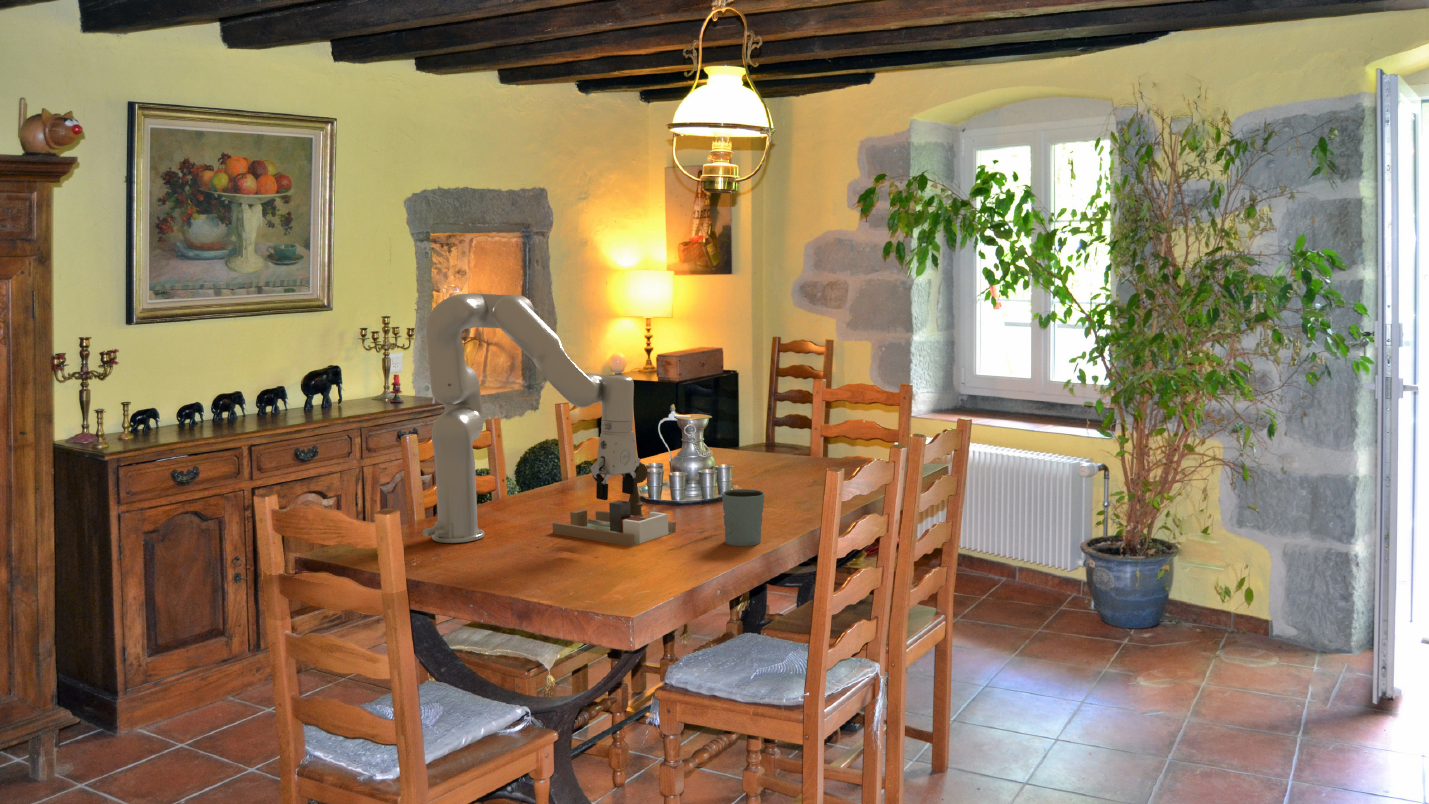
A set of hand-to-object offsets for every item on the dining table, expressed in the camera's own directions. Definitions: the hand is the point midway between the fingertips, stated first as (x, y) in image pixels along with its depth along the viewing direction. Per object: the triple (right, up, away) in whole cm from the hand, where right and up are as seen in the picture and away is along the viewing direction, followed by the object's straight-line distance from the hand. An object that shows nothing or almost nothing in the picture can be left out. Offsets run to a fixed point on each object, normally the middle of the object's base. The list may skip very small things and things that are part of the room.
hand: (615, 496), depth 279 cm
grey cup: (+31, -11, -4) cm, 33 cm away
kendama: (+4, -8, +19) cm, 21 cm away
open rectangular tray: (0, -10, +2) cm, 10 cm away
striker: (-1, -9, +3) cm, 9 cm away
